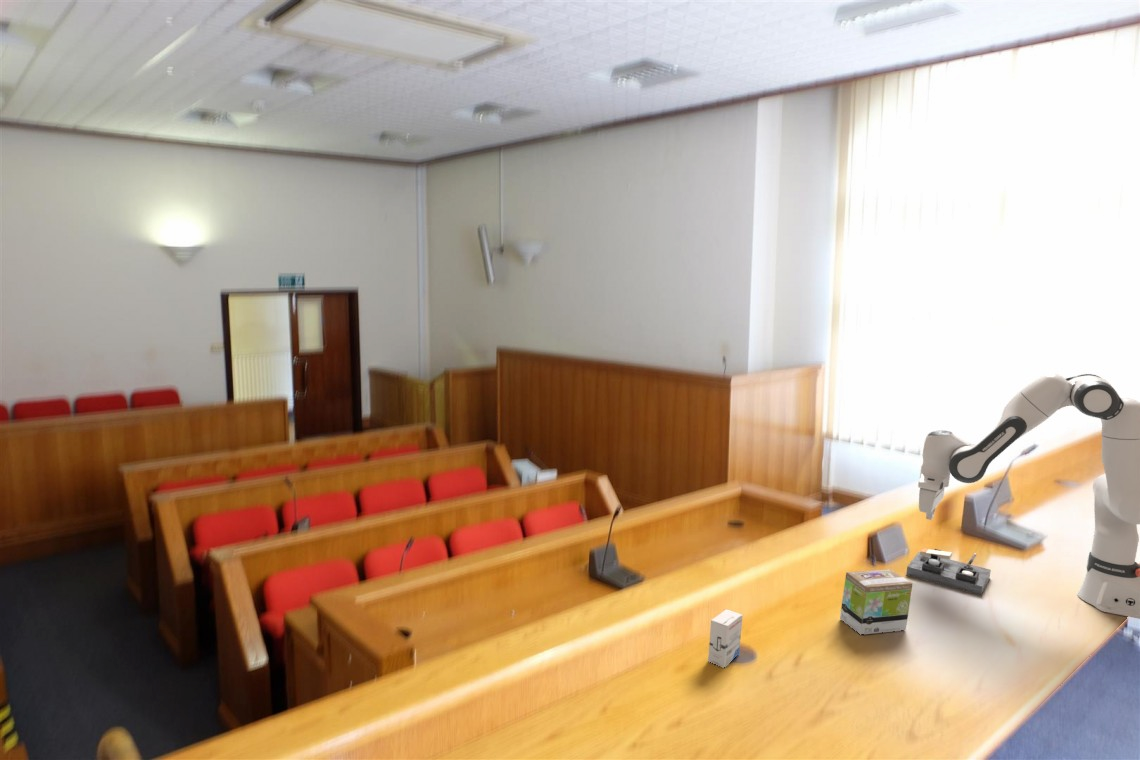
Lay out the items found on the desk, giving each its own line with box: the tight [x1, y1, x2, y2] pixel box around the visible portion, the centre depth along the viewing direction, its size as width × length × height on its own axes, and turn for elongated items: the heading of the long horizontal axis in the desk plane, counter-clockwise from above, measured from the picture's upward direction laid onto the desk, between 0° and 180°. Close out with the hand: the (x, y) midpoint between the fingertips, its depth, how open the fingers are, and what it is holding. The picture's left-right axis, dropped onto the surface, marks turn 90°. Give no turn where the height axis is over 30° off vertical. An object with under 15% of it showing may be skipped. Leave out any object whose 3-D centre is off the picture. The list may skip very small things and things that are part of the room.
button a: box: [962, 571, 973, 576], centre depth 243 cm, size 3×3×1 cm
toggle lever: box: [966, 553, 978, 567], centre depth 249 cm, size 1×1×5 cm
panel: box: [906, 548, 992, 596], centre depth 249 cm, size 22×16×6 cm
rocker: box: [919, 548, 953, 560], centre depth 255 cm, size 9×4×2 cm, turn 53°
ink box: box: [707, 608, 744, 669], centre depth 195 cm, size 9×5×12 cm, turn 141°
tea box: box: [839, 568, 913, 636], centre depth 215 cm, size 15×10×15 cm
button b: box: [928, 559, 939, 566], centre depth 248 cm, size 3×3×1 cm
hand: (929, 518), depth 255 cm, fingers closed
